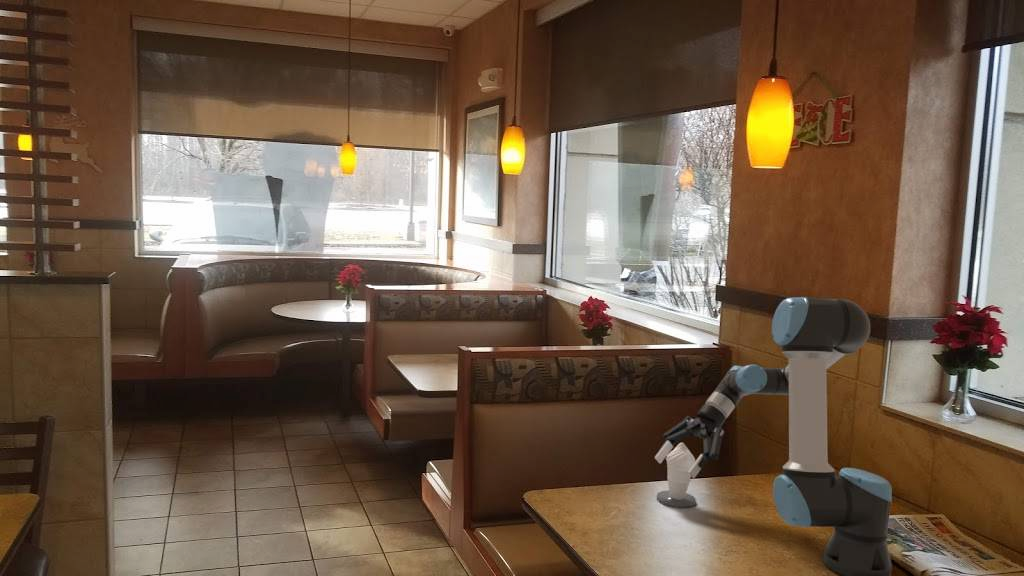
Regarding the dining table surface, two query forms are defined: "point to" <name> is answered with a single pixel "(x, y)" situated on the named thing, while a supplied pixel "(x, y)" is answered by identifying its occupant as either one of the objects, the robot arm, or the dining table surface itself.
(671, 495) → the soft serve ice cream cone
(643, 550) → the dining table surface
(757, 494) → the dining table surface
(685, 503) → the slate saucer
